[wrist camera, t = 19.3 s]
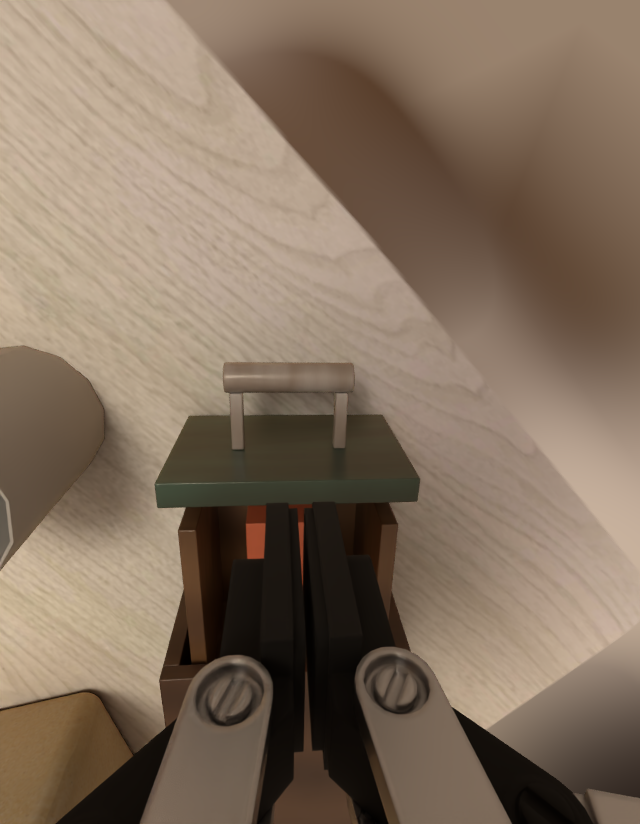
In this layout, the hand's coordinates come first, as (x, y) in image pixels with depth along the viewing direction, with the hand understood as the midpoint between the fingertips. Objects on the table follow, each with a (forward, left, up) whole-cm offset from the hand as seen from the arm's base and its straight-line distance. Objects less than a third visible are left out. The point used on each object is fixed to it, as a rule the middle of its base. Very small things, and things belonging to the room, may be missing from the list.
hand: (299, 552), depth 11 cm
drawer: (+5, +5, -16) cm, 17 cm away
